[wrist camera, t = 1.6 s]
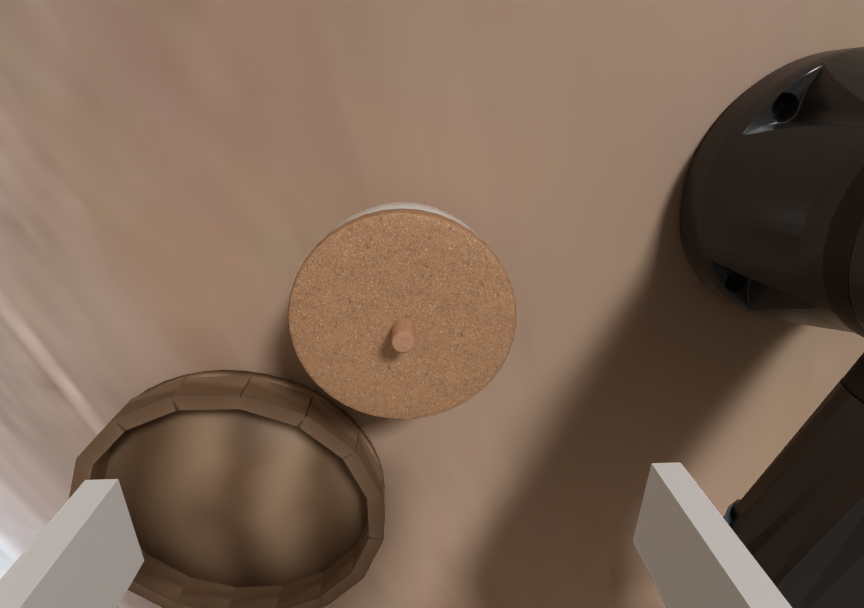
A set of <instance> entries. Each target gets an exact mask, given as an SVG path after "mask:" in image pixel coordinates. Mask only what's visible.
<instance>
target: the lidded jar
mask: <svg viewBox="0 0 864 608" xmlns="http://www.w3.org/2000/svg"><path fill="white" fill-rule="evenodd" d="M288 325H289V331H290V336H291V341H292V344H293V347H294V349H295V352H296V354H297V357H298V359H299V360H300V362H301V364H302V365H303V367H304V369H305V370H306V372H307V373H308V374H309V376H310V377H311V378H312V379H313V380H314V381H315V383H316V384H317V385H318V386H319V387H321V388H322V389H323V390H324V391H325V392H326V393H327V394H329V395H330V396H331V397H333V398H335V399H336V400H338V401H339V402H341V403H342V404H344V405H346V406H348V407H351V408H353V409H355V410H357V411H360V412H363V413H366V414H369V415H372V416H377V417H384V418H392V419H412V418H422V417H426V416H431V415H436V414H439V413H442V412H444V411H447V410H450V409H452V408H454V407H456V406H458V405H460V404H462V403H464V402H466V401H467V400H469V399H470V398H471V397H473V396H474V395H476V394H477V393H478V392H480V391H481V390H482V389H483V388H484V387H485V386H486V385H487V384H488V383H489V382H490V381H491V380H492V379H493V377H494V376H495V375H496V373H497V372H498V371H499V369H500V368H501V366H502V364H503V363H504V361H505V359H506V357H507V355H508V353H509V350H510V347H511V344H512V341H513V338H514V332H515V326H516V305H515V299H514V294H513V289H512V287H511V284H510V281H509V279H508V276H507V274H506V272H505V270H504V268H503V267H502V265H501V263H500V261H499V260H498V258H497V256H496V255H495V254H494V253H493V252H492V250H491V249H490V248H489V247H488V246H487V244H486V243H485V242H484V241H483V240H481V238H480V237H479V236H478V235H477V234H476V233H475V232H474V231H473V230H472V229H471V228H470V227H468V226H467V225H466V224H465V223H464V222H462V221H461V220H459V219H457V218H456V217H454V216H452V215H451V214H449V213H447V212H445V211H443V210H440V209H438V208H435V207H432V206H428V205H424V204H420V203H410V202H395V203H385V204H381V205H377V206H373V207H370V208H368V209H365V210H363V211H361V212H358V213H356V214H354V215H353V216H351V217H349V218H348V219H346V220H345V221H343V222H342V223H340V224H339V225H338V226H337V227H335V228H334V229H333V230H332V231H331V232H330V233H329V234H328V235H327V236H326V237H325V238H324V239H323V240H322V241H321V242H320V243H318V244H317V246H316V247H315V248H314V249H313V251H312V252H311V253H310V254H309V256H308V257H307V258H306V260H305V261H304V263H303V265H302V267H301V269H300V270H299V272H298V274H297V276H296V278H295V281H294V284H293V287H292V290H291V293H290V299H289V306H288Z"/></svg>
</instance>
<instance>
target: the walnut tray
mask: <svg viewBox="0 0 864 608" xmlns="http://www.w3.org/2000/svg"><path fill="white" fill-rule="evenodd" d="M99 479H118V480H119V483H120V486H121V489H122V492H123V495H124V498H125V502H126V505H127V508H128V511H129V514H130V517H131V520H132V524H133V527H134V530H135V533H136V536H137V539H138V542H139V546H140V549H141V552H142V555H143V558H144V562H143V564H142V565H141V567H140V569H139V571H138V572H137V574H136V576H135V578H134V579H133V581H132V583H131V585H130V586H129V588H128V590H130V591H132V592H133V593H135V594H137V595H139V596H141V597H143V598H145V599H147V600H149V601H151V602H153V603H155V604H157V605H159V606H161V607H163V608H321V607H324V606H327V605H329V604H330V603H331V602H333V601H334V600H335V599H336V598H338V597H339V596H340V595H342V594H343V593H344V592H346V591H347V590H348V589H350V588H351V587H352V586H353V585H355V584H356V583H357V582H359V581H360V580H361V579H363V577H364V576H365V574H366V572H367V571H368V569H369V567H370V565H371V563H372V561H373V559H374V557H375V555H376V553H377V551H378V549H379V547H380V546H381V544H382V542H383V539H384V521H385V505H384V488H385V486H384V477H383V471H382V468H381V464H380V461H379V458H378V456H377V454H376V452H375V449H374V447H373V445H372V443H371V442H370V441H369V439H368V438H367V436H366V435H365V433H364V432H363V430H362V429H361V428H360V427H359V426H358V425H357V424H356V422H355V421H354V420H353V419H352V418H351V417H350V416H349V415H347V414H346V413H345V412H344V411H343V410H342V409H340V408H339V407H338V406H337V405H335V404H334V403H332V402H331V401H329V400H328V399H326V398H325V397H323V396H322V395H320V394H318V393H316V392H314V391H312V390H310V389H308V388H306V387H304V386H302V385H299V384H296V383H294V382H291V381H289V380H286V379H282V378H279V377H275V376H271V375H267V374H262V373H255V372H248V371H234V370H218V371H204V372H198V373H193V374H188V375H183V376H180V377H177V378H173V379H170V380H167V381H164V382H162V383H160V384H158V385H156V386H154V387H152V388H150V389H148V390H146V391H145V392H143V393H142V394H140V395H139V396H137V397H135V398H132V399H131V400H130V401H129V402H128V403H127V404H126V405H125V406H124V407H123V409H122V410H121V411H120V412H119V413H118V414H117V415H116V416H115V417H114V418H113V419H112V420H111V421H110V422H109V424H108V425H107V426H106V427H105V428H104V429H103V430H102V431H101V432H100V433H99V434H98V436H97V437H96V438H95V439H94V440H93V441H92V442H91V443H90V444H89V445H88V446H87V447H86V449H85V450H84V451H83V452H82V453H81V454H80V455H79V456H78V457H77V459H76V464H75V469H74V475H73V480H72V485H71V491H70V496H69V498H70V497H71V496H72V495H73V494H74V492H75V491H76V490H77V489H78V488H79V487H80V485H81V484H82V483H83V482H84V481H85V480H99Z"/></svg>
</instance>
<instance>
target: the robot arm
mask: <svg viewBox="0 0 864 608" xmlns="http://www.w3.org/2000/svg"><path fill="white" fill-rule="evenodd" d="M680 231H681V238H682V243H683V247H684V250H685V253H686V256H687V258H688V261H689V263H690V265H691V267H692V268H693V270H694V272H695V273H696V275H697V276H698V277H699V278H700V280H701V281H702V282H703V283H704V284H705V285H706V286H707V287H708V288H710V289H711V290H712V291H713V292H715V293H716V294H718V295H719V296H721V297H722V298H724V299H726V300H727V301H729V302H731V303H732V304H734V305H736V306H737V307H739V308H741V309H743V310H745V311H747V312H749V313H752V314H755V315H758V316H760V317H764V318H767V319H772V320H778V321H784V322H790V323H796V324H803V325H809V326H815V327H822V328H828V329H834V330H841V331H847V332H853V333H856V334H858V335H860V336H862V337H864V47H859V48H850V49H842V50H834V51H827V52H822V53H818V54H814V55H810V56H807V57H804V58H801V59H799V60H796V61H794V62H791V63H789V64H787V65H785V66H783V67H781V68H779V69H777V70H775V71H774V72H772V73H770V74H769V75H767V76H766V77H764V78H763V79H761V80H760V81H758V82H757V83H756V84H754V85H753V86H752V87H750V88H749V89H748V90H747V91H746V92H744V93H743V94H742V95H741V96H740V97H739V98H738V99H737V100H736V101H735V102H734V103H733V104H732V105H731V106H730V107H729V108H728V109H727V110H726V111H725V112H724V113H723V114H722V116H721V117H720V118H719V119H718V121H717V122H716V123H715V125H714V126H713V127H712V129H711V130H710V132H709V133H708V135H707V136H706V138H705V139H704V141H703V143H702V144H701V146H700V148H699V150H698V152H697V154H696V156H695V158H694V160H693V162H692V165H691V167H690V170H689V172H688V175H687V179H686V182H685V185H684V189H683V194H682V200H681V208H680ZM633 544H634V546H635V548H636V550H637V552H638V554H639V555H640V557H641V559H642V561H643V563H644V565H645V567H646V569H647V571H648V573H649V575H650V577H651V579H652V581H653V582H654V584H655V586H656V588H657V590H658V592H659V594H660V596H661V598H662V600H663V602H664V604H665V606H666V607H667V608H864V353H863V354H862V355H861V356H860V358H859V359H858V360H857V361H856V363H855V364H854V365H853V366H852V367H851V369H850V370H849V371H848V372H847V374H846V375H845V376H844V377H843V378H842V379H841V380H840V381H839V383H838V384H837V385H836V386H835V387H834V389H833V390H832V391H831V392H830V393H829V395H828V396H827V397H826V398H825V399H824V401H823V402H822V403H821V404H820V405H819V407H818V408H817V409H816V410H815V411H814V413H813V414H812V415H811V416H810V417H809V419H808V420H807V421H806V422H805V423H804V425H803V426H802V427H801V428H800V429H799V431H798V432H797V433H796V434H795V435H794V437H793V438H792V439H791V440H790V441H789V443H788V444H787V445H786V446H785V447H784V449H783V450H782V451H781V452H780V453H779V455H778V456H777V457H776V458H775V459H774V461H773V462H772V463H771V464H770V465H769V467H768V468H767V469H766V470H765V472H764V473H763V474H762V475H761V476H760V478H759V479H758V480H757V481H756V482H755V484H754V485H753V486H752V487H751V488H750V490H749V491H748V492H747V493H746V494H745V496H744V497H743V498H742V499H741V500H736V501H735V502H734V503H732V504H731V505H730V506H729V507H728V509H727V511H726V514H725V516H724V517H722V516H721V514H720V513H719V512H718V510H717V509H716V508H715V506H714V505H713V504H712V503H711V501H710V500H709V499H708V497H707V496H706V495H705V493H704V492H703V491H702V490H701V488H700V487H699V486H698V484H697V483H696V482H695V480H694V479H693V478H692V477H691V475H690V474H689V473H688V471H687V470H686V469H685V467H684V466H683V465H682V464H681V462H678V463H651V467H650V471H649V475H648V480H647V484H646V488H645V492H644V496H643V500H642V504H641V509H640V513H639V517H638V521H637V525H636V529H635V533H634V538H633ZM143 562H144V558H143V555H142V552H141V549H140V546H139V542H138V539H137V536H136V533H135V530H134V527H133V524H132V520H131V517H130V514H129V511H128V508H127V505H126V502H125V498H124V495H123V492H122V489H121V486H120V483H119V480H118V479H99V480H85V481H84V482H83V483H82V484H81V485H80V487H79V488H78V489H77V490H76V491H75V492H74V494H73V495H72V496H71V497H70V498H69V500H68V501H67V502H66V503H65V504H64V505H63V507H62V508H61V509H60V510H59V511H58V512H57V514H56V515H55V516H54V517H53V518H52V520H51V521H50V522H49V523H48V524H47V525H46V527H45V528H44V529H43V530H42V531H41V532H40V534H39V535H38V536H37V537H36V538H35V540H34V541H33V542H32V543H31V544H30V545H29V547H28V548H27V549H26V550H25V551H24V553H23V554H22V555H21V556H20V557H19V558H18V560H17V561H16V562H15V563H14V564H13V565H12V567H11V568H10V569H9V570H8V571H7V573H6V574H5V575H4V576H3V577H2V578H1V580H0V608H118V606H119V604H120V602H121V601H122V599H123V597H124V595H125V594H126V592H127V590H128V588H129V586H130V585H131V583H132V581H133V579H134V578H135V576H136V574H137V572H138V571H139V569H140V567H141V565H142V564H143Z"/></svg>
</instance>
